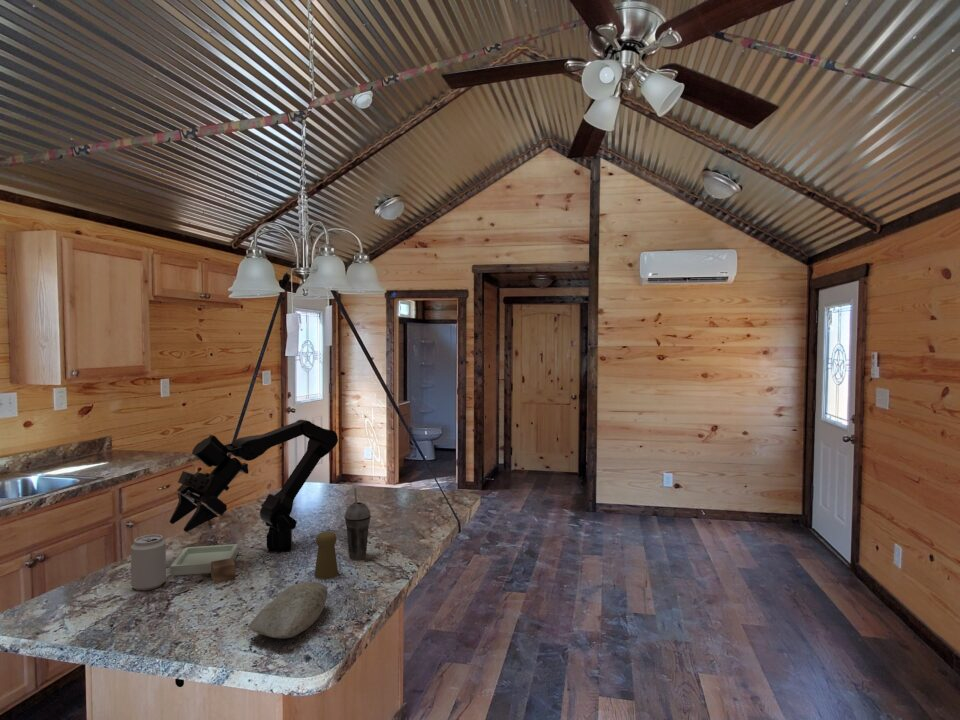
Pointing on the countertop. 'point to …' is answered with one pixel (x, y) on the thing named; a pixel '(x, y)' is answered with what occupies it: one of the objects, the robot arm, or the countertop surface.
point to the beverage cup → (357, 529)
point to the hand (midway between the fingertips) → (177, 526)
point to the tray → (201, 559)
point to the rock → (291, 611)
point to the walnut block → (223, 570)
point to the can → (148, 562)
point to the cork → (326, 556)
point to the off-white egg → (169, 558)
